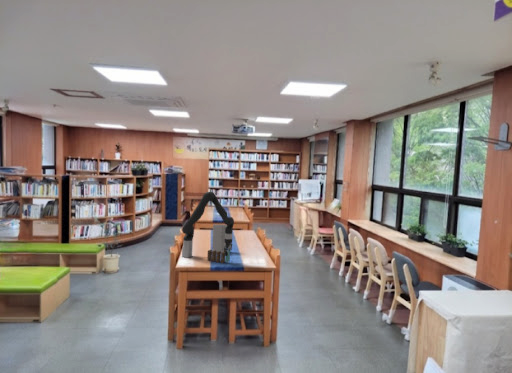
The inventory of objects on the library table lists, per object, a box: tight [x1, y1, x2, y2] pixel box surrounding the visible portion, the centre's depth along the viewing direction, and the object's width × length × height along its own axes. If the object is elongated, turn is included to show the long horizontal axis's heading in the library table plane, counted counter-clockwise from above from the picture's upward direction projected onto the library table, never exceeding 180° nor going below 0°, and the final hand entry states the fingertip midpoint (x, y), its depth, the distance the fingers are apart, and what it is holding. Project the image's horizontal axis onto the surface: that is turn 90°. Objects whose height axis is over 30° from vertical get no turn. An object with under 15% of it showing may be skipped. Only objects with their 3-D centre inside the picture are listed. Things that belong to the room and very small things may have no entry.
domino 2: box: [211, 250, 217, 263], centre depth 306 cm, size 2×5×10 cm, turn 158°
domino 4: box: [220, 252, 226, 264], centre depth 303 cm, size 2×5×10 cm, turn 158°
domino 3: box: [215, 251, 221, 263], centre depth 304 cm, size 2×5×10 cm, turn 158°
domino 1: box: [206, 249, 212, 262], centre depth 308 cm, size 2×5×10 cm, turn 158°
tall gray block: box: [211, 224, 227, 254], centre depth 338 cm, size 14×6×30 cm, turn 103°
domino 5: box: [225, 250, 231, 262], centre depth 301 cm, size 2×5×10 cm, turn 158°
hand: (227, 255), depth 301 cm, fingers closed on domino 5, 5 cm apart
